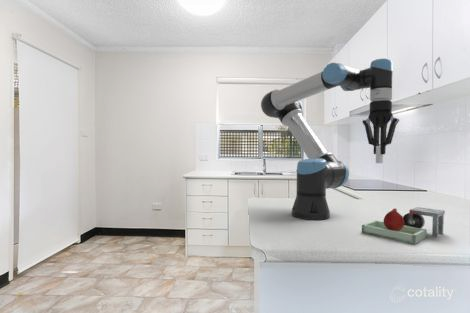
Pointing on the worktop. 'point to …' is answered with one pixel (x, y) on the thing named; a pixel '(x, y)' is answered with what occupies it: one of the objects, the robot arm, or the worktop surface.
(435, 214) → the caster wheel
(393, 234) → the tray
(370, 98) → the robot arm
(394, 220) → the onion
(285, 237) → the worktop surface
